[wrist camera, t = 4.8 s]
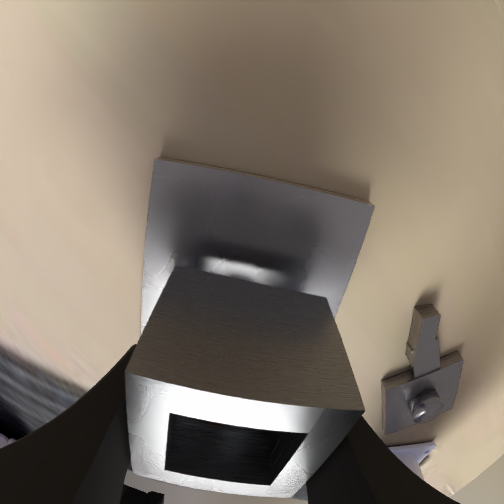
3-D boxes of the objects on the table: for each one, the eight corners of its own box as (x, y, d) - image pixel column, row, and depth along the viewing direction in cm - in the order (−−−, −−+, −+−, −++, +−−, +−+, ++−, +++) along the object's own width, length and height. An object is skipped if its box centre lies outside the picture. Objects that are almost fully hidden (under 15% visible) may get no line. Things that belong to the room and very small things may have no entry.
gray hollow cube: (282, 396, 13) (290, 497, 8) (162, 373, 12) (132, 473, 8) (326, 297, 11) (365, 410, 6) (175, 264, 10) (124, 371, 6)
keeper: (285, 415, 16) (289, 467, 13) (144, 392, 16) (128, 443, 12) (369, 202, 12) (410, 235, 8) (159, 157, 11) (122, 174, 8)
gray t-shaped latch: (447, 400, 17) (457, 418, 15) (382, 425, 17) (389, 446, 16) (464, 288, 13) (483, 306, 12) (377, 319, 14) (390, 344, 12)
